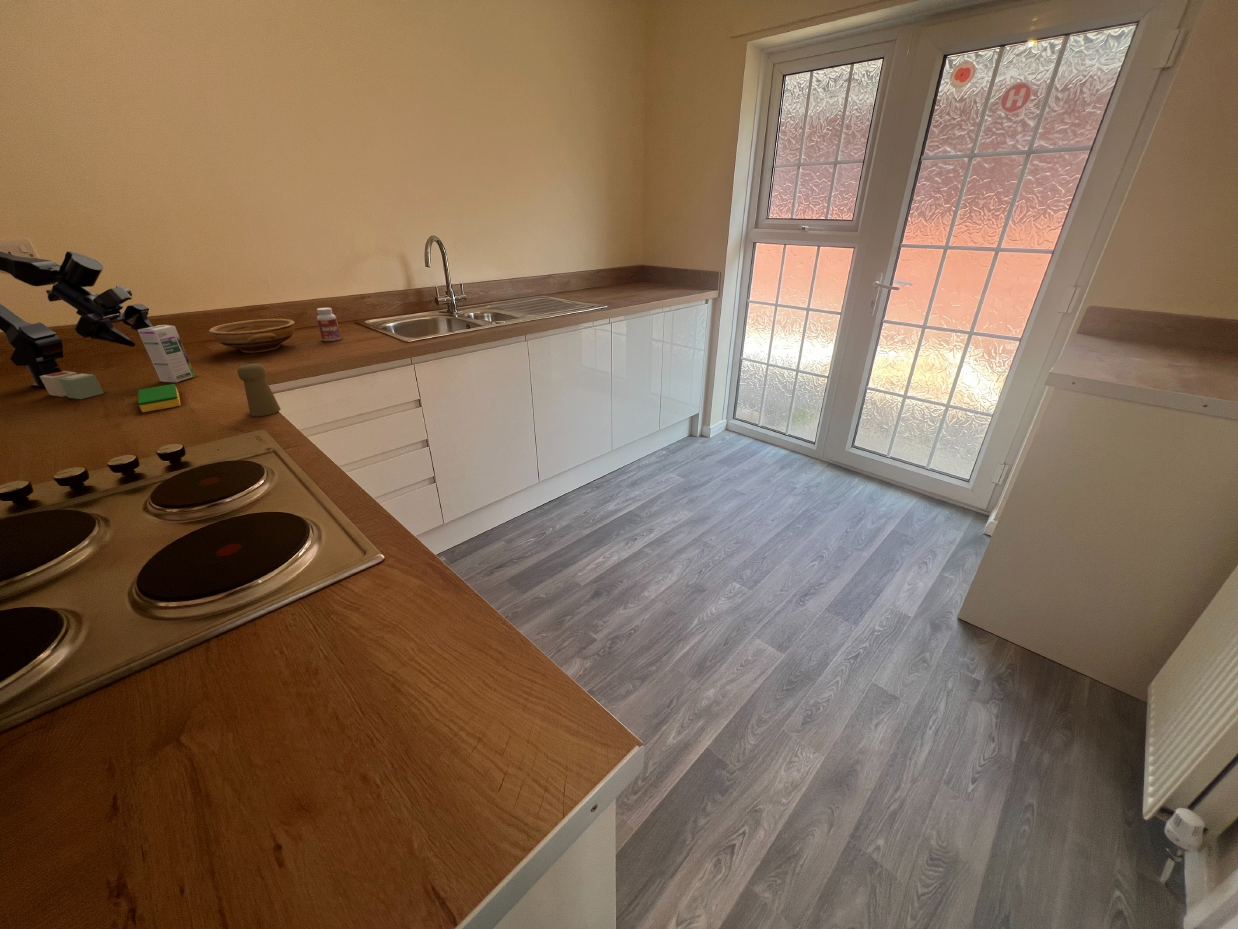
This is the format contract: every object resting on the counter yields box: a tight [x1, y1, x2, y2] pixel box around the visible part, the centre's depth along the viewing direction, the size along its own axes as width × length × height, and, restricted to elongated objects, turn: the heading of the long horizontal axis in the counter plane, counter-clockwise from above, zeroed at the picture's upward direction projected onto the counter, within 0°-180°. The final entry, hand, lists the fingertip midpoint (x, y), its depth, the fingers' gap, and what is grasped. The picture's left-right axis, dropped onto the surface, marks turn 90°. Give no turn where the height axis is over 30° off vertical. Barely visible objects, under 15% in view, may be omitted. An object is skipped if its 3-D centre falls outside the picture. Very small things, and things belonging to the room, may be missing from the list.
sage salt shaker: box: [237, 363, 281, 417], centre depth 113 cm, size 6×6×11 cm
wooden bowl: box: [208, 318, 295, 354], centre depth 171 cm, size 30×24×8 cm
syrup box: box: [137, 324, 196, 383], centre depth 137 cm, size 6×6×14 cm
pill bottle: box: [316, 307, 342, 342], centre depth 181 cm, size 6×6×11 cm
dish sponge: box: [137, 383, 182, 413], centre depth 122 cm, size 7×14×2 cm, turn 40°
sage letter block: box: [59, 372, 104, 400], centre depth 127 cm, size 5×5×5 cm
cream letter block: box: [40, 370, 78, 398], centre depth 129 cm, size 5×5×5 cm
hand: (147, 341), depth 135 cm, fingers open, 9 cm apart
